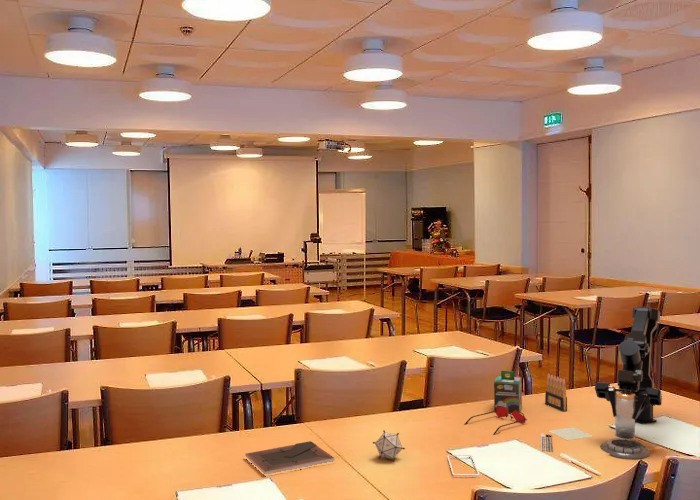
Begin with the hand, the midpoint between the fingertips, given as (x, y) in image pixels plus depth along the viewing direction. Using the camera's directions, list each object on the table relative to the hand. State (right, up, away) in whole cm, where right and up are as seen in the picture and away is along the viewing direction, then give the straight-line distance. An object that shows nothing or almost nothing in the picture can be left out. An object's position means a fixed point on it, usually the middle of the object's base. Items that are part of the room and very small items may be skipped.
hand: (624, 417), depth 208 cm
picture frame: (-100, -13, -4) cm, 101 cm away
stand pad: (-11, -10, +17) cm, 22 cm away
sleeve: (+1, -6, +2) cm, 6 cm away
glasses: (-33, -10, +28) cm, 44 cm away
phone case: (-50, -12, -10) cm, 53 cm away
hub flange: (+1, -10, +2) cm, 11 cm away
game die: (-71, -12, -3) cm, 72 cm away
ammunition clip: (-6, -8, +48) cm, 49 cm away
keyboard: (-20, -11, +8) cm, 24 cm away
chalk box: (-25, -8, +46) cm, 53 cm away
